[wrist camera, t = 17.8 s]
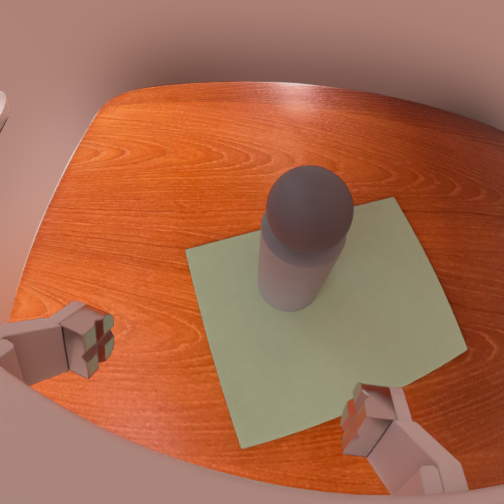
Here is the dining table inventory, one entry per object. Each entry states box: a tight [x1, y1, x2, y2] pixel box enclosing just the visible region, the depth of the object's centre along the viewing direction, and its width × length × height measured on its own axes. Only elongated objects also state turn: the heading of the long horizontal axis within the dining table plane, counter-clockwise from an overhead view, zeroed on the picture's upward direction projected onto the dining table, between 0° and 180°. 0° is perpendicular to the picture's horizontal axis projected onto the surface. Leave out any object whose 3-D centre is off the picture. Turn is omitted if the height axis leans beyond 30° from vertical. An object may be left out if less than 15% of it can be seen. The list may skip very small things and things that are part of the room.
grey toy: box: [257, 165, 354, 312], centre depth 19 cm, size 5×5×12 cm
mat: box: [185, 197, 467, 449], centre depth 24 cm, size 20×16×1 cm
